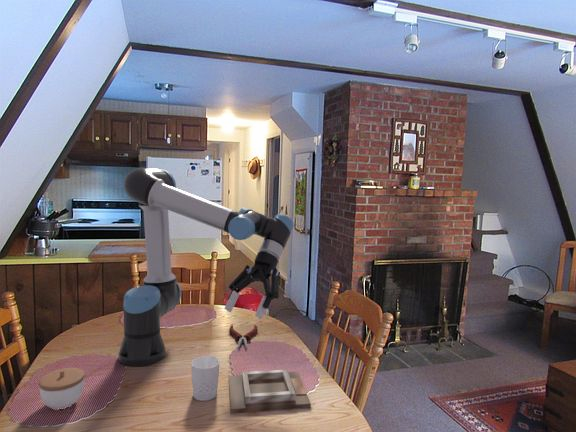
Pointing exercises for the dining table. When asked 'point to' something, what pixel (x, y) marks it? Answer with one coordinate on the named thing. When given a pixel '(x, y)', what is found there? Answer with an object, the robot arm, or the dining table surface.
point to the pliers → (246, 337)
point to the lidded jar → (61, 387)
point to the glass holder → (267, 391)
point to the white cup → (205, 377)
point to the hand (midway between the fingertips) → (242, 313)
